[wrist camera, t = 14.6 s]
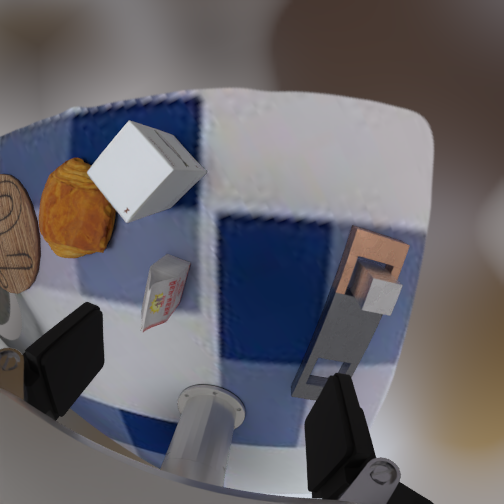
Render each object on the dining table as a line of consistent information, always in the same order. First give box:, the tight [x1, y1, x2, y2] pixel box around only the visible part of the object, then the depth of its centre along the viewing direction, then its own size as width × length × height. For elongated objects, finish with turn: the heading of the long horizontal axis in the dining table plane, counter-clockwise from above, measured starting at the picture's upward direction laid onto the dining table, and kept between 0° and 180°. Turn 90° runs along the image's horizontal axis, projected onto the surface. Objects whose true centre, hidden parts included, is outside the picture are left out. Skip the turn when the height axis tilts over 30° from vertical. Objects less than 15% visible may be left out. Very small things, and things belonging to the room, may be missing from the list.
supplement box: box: [87, 121, 207, 223], centre depth 30 cm, size 7×7×13 cm
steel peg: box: [348, 258, 403, 315], centre depth 34 cm, size 4×4×8 cm
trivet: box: [0, 174, 41, 294], centre depth 41 cm, size 25×25×2 cm
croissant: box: [39, 158, 116, 258], centre depth 36 cm, size 14×16×8 cm
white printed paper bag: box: [140, 254, 191, 332], centre depth 35 cm, size 4×7×10 cm, turn 160°
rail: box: [291, 225, 409, 400], centre depth 39 cm, size 28×8×2 cm, turn 166°
